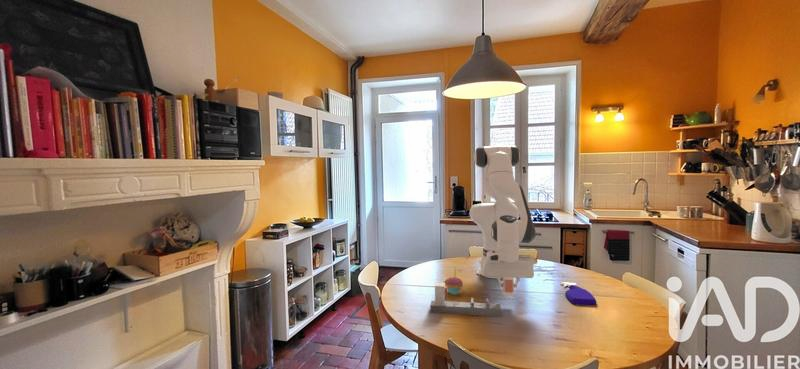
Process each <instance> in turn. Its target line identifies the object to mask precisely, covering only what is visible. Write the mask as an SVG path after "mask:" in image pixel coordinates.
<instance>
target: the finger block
mask: <svg viewBox="0 0 800 369" xmlns="http://www.w3.org/2000/svg"><path fill="white" fill-rule="evenodd" d="M502 282H503V287H502V294H503V297H514V295H515V293H514V291H515V289H514V282H515V278H514V277H503V278H502Z"/></svg>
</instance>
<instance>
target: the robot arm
mask: <svg viewBox="0 0 800 369" xmlns="http://www.w3.org/2000/svg"><path fill="white" fill-rule="evenodd" d="M519 149H520V148H518V146H517V145H513V144H509V145H505V144H504V145H503V144H496V145H488V146H479V147H477V148H476V149H475V152H474V154H473V160H474V163H475V165H476V166H477V167H479V168H483V192H484V194H485V195H486V196H487V197H489V198H492V199H493V200H494V202H493V203H492V202H490V203H489V202H487V203H486V202H484V203H483V202H482V203H477V204H473V205H472V206H471V207H470V209H469V217H470V219H471V221H472V222H473V223H474V224H476V225H477V227H479V229H480V230H481V233H482V238H483V248H482V257H481V258H480V259H479V262H478V263H479V267H478V269H477V271H476V275H479V276H483V277H485V278H490V279H497V281H498V283H499V285H498V286H499V288H503V281H501V280H502V279H503V277H514V279H515V280H514V288H515V289H517V288H518V283H520V280H521V279H532V278H534V276H535V271H534V266H535V258H534V257H533V256H531V255H523V254H520V246H519V243H521V244H529V243H531V242H533V241H534V240H535V239H536V235H537V231H536V227H535V223H534V222H533V219H532V216H531V212H530V208H529V205H528V202H527V198H526V193H525V192H524V189H523V187H522V186H521V185H520V184H518V183H517V181H516V180H515V177H514V170H513V167H515V166H517V165H518V164H519V162H520V160H521V152H520V150H519ZM510 199H511V200H512V201H514V202H515V204H514V202H512V201H511V200H510ZM519 218H520V219H519Z"/></svg>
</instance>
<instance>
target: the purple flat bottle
mask: <svg viewBox="0 0 800 369" xmlns="http://www.w3.org/2000/svg"><path fill="white" fill-rule="evenodd" d="M559 285H562V286H563V287H564V288H565V287H567V286H568V287H567V288H569V289H567V290H566V291H565V292H564V294H565V297H566V298H567V299H568V301H570V303H571V302H572V303H571V304H573V305H576V304H577V305H578V306H591V305H595V306H596V305H597V303H598V302H597V300H596V298H595V296H594V295H593V294H592V293H591V292H590V291H588V290H587V289H585V288H582V287H580V286H578V283H576V282H564V281H562V282H559ZM577 305H576V306H577Z"/></svg>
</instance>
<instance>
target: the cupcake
mask: <svg viewBox="0 0 800 369" xmlns="http://www.w3.org/2000/svg"><path fill="white" fill-rule="evenodd" d="M456 272H457V268H456V266H455V267H454V271H453V274H454V275H453V277H449V278H447V279H446V280H445V281H444V283H445V286H447V293H448V294H449V293H450V295H452V294H453V296H454V295H455V296H456V295H458V294H460V290H461V288H463V285H464V283H463V281H462V279H460V278H458V277H456V274H457V273H456Z"/></svg>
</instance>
